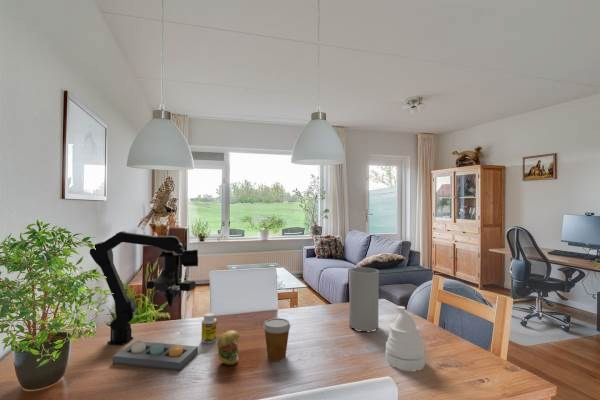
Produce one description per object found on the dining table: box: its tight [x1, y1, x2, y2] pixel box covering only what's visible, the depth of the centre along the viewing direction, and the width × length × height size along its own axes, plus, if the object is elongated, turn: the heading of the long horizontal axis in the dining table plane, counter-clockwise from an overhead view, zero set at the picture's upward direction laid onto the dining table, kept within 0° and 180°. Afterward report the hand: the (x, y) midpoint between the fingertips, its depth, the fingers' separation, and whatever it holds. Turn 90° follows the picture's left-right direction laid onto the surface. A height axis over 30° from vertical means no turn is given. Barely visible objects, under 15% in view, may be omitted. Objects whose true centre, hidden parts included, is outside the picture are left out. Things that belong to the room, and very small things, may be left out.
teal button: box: [150, 344, 164, 356], centre depth 110 cm, size 4×4×3 cm
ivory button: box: [131, 341, 146, 354], centre depth 111 cm, size 4×4×3 cm
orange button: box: [169, 346, 183, 357], centre depth 109 cm, size 4×4×3 cm
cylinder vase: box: [348, 266, 380, 331], centre depth 141 cm, size 12×12×25 cm
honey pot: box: [385, 305, 426, 371], centre depth 110 cm, size 13×13×18 cm
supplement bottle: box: [201, 312, 218, 344], centre depth 125 cm, size 6×6×10 cm
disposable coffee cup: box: [262, 317, 292, 362], centre depth 112 cm, size 10×10×12 cm
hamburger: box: [216, 326, 240, 366], centre depth 108 cm, size 8×7×12 cm
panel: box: [112, 340, 199, 372], centre depth 110 cm, size 24×12×3 cm, turn 81°
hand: (170, 306), depth 129 cm, fingers closed
